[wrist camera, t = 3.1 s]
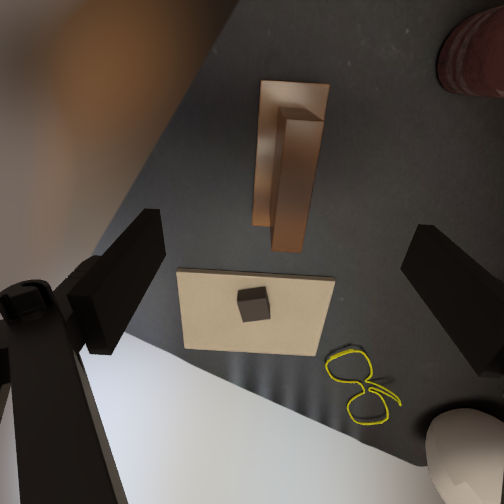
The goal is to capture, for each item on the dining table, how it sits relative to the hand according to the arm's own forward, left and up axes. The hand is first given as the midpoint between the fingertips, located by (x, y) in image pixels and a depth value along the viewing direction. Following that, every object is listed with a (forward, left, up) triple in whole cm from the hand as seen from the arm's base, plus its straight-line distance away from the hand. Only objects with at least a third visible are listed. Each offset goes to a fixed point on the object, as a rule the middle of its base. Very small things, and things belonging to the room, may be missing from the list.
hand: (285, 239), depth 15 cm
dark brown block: (-1, -20, -18) cm, 27 cm away
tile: (-1, -24, -19) cm, 30 cm away
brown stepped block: (+1, 0, -19) cm, 19 cm away
